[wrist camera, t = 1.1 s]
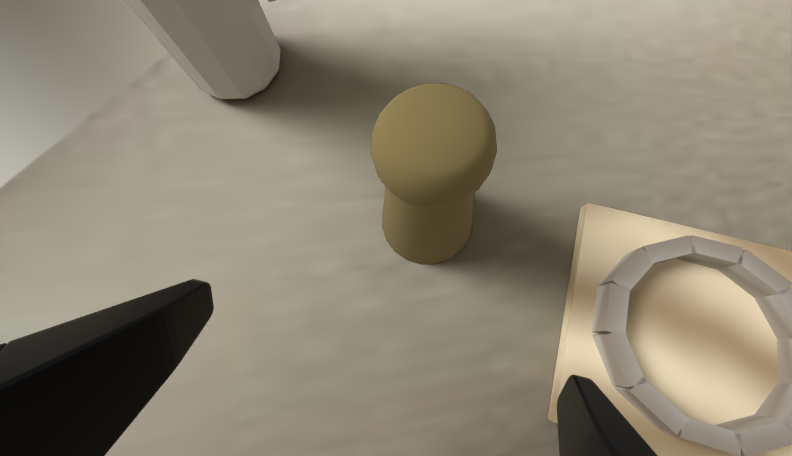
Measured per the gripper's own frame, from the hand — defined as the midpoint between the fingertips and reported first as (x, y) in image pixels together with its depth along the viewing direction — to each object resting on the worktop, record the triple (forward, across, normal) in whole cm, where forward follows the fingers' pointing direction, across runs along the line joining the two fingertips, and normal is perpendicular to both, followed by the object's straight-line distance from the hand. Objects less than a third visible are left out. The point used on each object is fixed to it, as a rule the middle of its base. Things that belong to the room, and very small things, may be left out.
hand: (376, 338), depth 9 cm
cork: (+15, 0, +4) cm, 16 cm away
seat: (+12, -16, +6) cm, 21 cm away
